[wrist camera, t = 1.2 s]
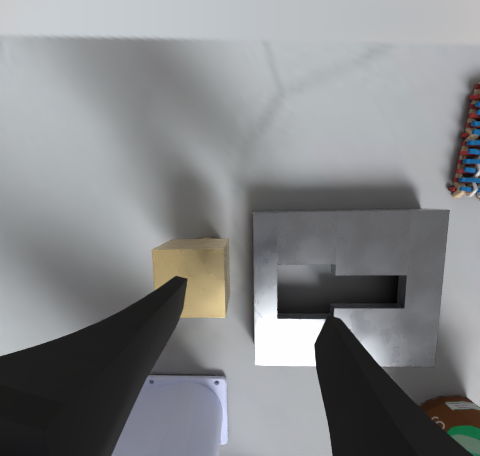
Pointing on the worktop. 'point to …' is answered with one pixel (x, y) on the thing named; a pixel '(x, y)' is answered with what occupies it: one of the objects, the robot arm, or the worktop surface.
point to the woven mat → (469, 152)
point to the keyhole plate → (352, 263)
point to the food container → (457, 419)
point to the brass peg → (196, 273)
